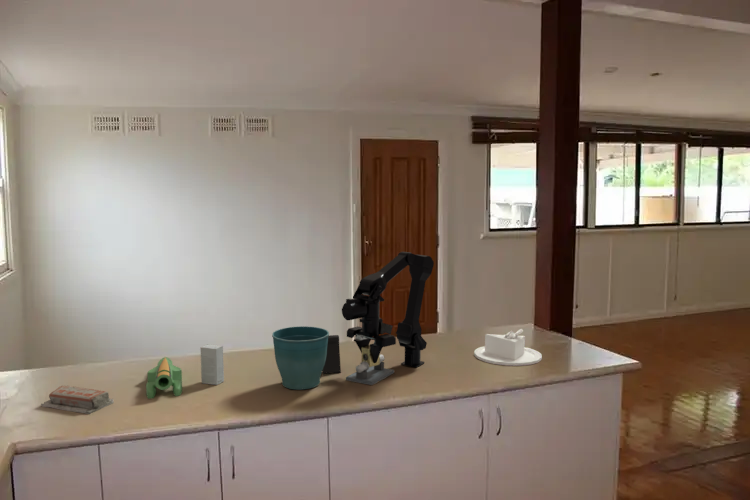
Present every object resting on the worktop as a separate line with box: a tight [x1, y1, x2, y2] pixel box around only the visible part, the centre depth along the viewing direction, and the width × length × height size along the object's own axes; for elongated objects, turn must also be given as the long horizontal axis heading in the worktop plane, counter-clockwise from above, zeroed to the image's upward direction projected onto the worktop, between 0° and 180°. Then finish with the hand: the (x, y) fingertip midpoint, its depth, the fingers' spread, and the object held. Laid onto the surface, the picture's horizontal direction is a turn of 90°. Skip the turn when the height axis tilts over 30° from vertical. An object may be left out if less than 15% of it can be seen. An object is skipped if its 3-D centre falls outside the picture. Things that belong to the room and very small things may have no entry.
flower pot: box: [271, 325, 330, 391], centre depth 197 cm, size 18×18×17 cm
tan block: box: [361, 344, 381, 367], centre depth 206 cm, size 5×4×6 cm
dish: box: [473, 328, 543, 367], centre depth 231 cm, size 25×25×11 cm
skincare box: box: [199, 344, 225, 386], centre depth 199 cm, size 6×4×12 cm
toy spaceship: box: [145, 356, 183, 400], centre depth 201 cm, size 32×10×7 cm, turn 18°
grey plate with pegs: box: [345, 353, 395, 386], centre depth 206 cm, size 15×10×6 cm, turn 150°
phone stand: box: [322, 334, 342, 375], centre depth 213 cm, size 9×6×12 cm, turn 12°
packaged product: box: [40, 385, 114, 415], centre depth 180 cm, size 18×5×10 cm
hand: (370, 361), depth 206 cm, fingers closed on tan block, 4 cm apart
